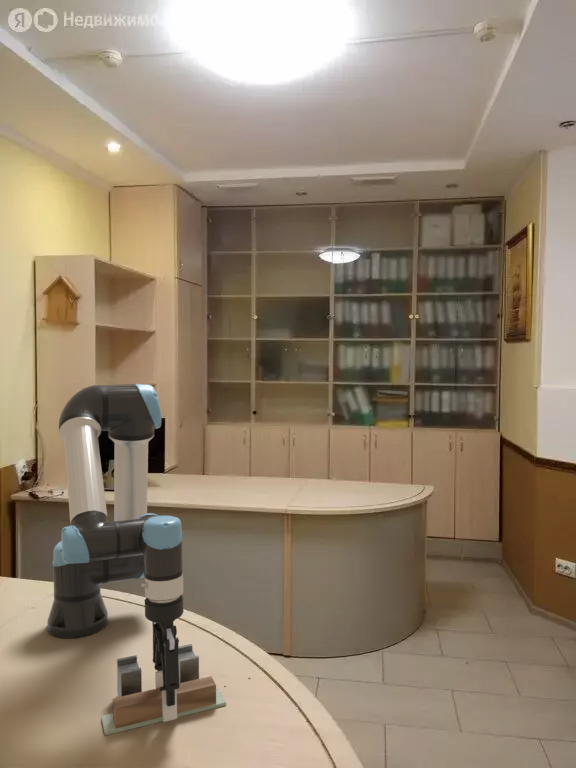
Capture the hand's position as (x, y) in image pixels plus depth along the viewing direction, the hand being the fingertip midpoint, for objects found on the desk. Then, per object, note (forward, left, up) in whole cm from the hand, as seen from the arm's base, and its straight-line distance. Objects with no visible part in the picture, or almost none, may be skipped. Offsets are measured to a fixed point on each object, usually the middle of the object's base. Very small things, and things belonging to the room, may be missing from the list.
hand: (166, 710), depth 119 cm
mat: (-1, 0, -1) cm, 2 cm away
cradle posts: (-8, 0, -1) cm, 8 cm away
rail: (-1, 0, 0) cm, 1 cm away
